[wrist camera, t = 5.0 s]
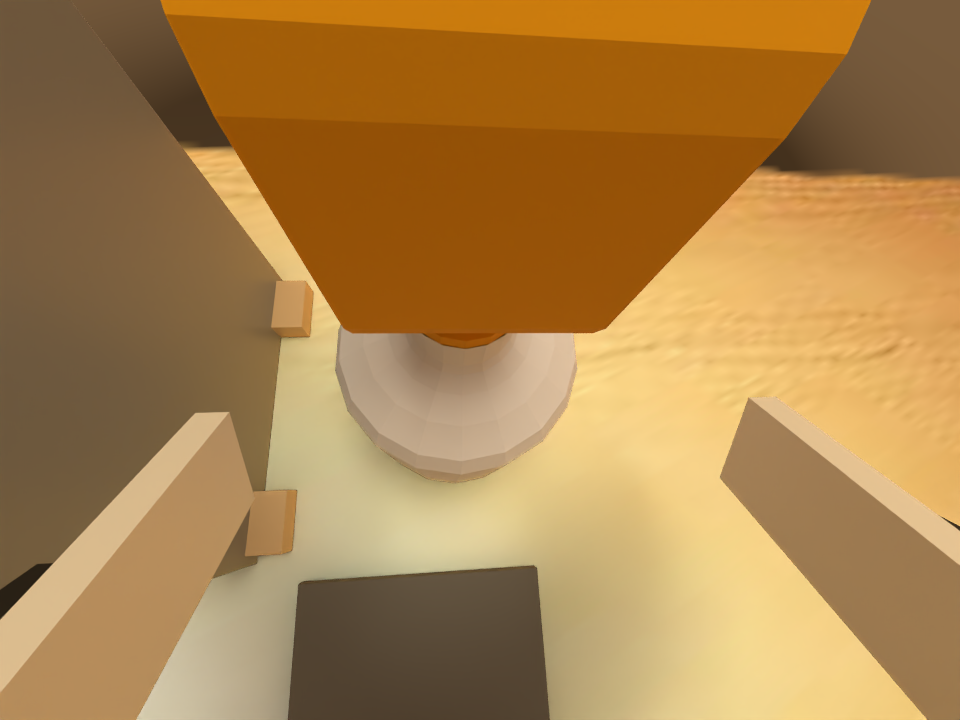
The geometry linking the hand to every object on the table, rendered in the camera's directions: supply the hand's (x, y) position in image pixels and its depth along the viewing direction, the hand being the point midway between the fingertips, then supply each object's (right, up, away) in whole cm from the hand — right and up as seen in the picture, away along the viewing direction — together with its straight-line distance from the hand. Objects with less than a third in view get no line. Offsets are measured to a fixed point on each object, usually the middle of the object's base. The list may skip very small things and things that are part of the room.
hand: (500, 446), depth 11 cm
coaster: (-3, -15, +9) cm, 18 cm away
